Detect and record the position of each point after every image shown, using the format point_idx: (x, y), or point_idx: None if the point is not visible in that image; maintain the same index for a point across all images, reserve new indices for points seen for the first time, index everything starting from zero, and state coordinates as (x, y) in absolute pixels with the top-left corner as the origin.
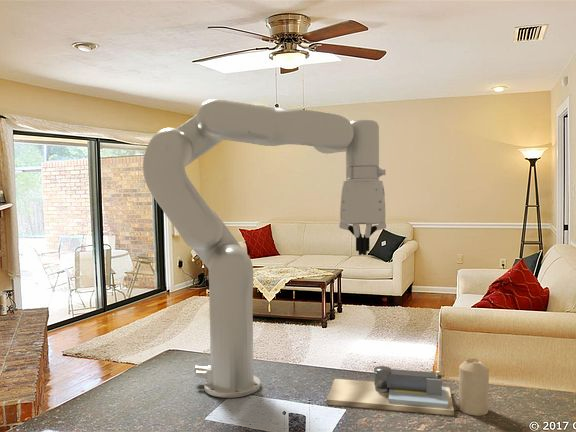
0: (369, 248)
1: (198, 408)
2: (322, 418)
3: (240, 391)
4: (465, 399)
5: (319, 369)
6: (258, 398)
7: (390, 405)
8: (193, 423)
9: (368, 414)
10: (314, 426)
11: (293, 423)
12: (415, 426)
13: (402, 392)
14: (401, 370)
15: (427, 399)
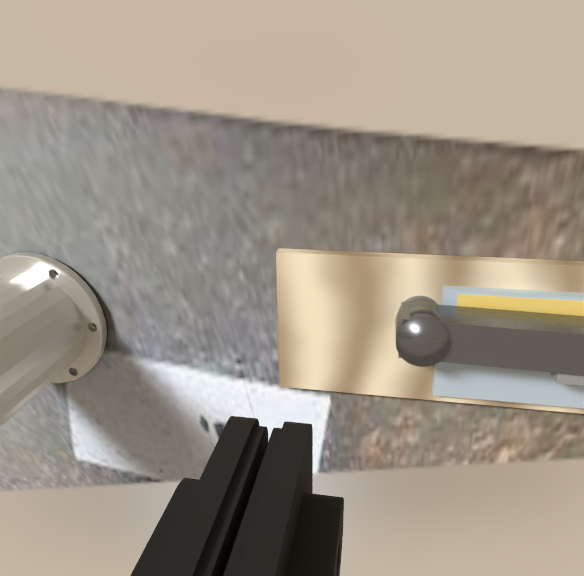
0: (341, 505)
1: (40, 421)
2: None
3: (80, 371)
4: None
5: (209, 139)
6: (126, 366)
7: (436, 400)
8: (68, 474)
9: (383, 417)
10: None
11: None
12: (486, 460)
13: None
14: (484, 331)
15: (538, 388)
